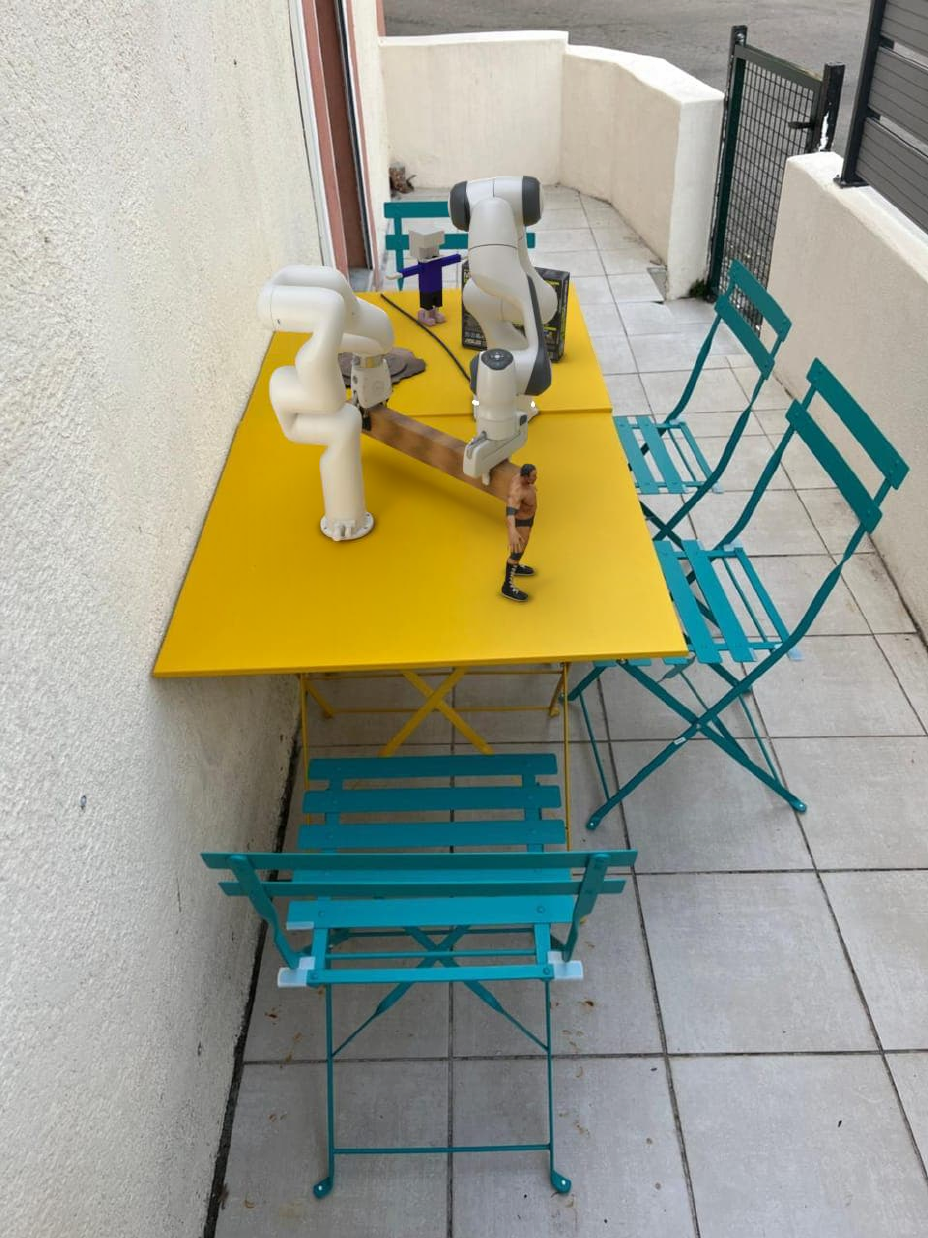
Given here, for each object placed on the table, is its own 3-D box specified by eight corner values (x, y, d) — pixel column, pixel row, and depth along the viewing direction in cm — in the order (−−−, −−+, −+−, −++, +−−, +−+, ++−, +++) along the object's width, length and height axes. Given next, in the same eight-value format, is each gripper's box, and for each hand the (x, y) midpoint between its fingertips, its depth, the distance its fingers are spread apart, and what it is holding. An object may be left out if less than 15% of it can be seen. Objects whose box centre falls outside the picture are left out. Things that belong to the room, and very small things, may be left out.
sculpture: (406, 397, 263) (403, 345, 252) (297, 384, 270) (290, 333, 259) (437, 352, 287) (436, 303, 277) (336, 341, 294) (331, 293, 284)
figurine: (524, 621, 184) (530, 498, 165) (494, 617, 185) (497, 494, 166) (540, 553, 202) (547, 435, 183) (512, 550, 203) (516, 432, 184)
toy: (460, 304, 319) (459, 216, 299) (477, 312, 313) (477, 222, 294) (381, 329, 302) (375, 237, 283) (398, 337, 296) (393, 244, 277)
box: (565, 354, 285) (571, 269, 268) (558, 363, 280) (563, 277, 263) (468, 339, 295) (468, 256, 278) (460, 347, 290) (459, 264, 272)
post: (348, 426, 232) (345, 400, 227) (361, 420, 235) (358, 394, 230) (511, 504, 204) (512, 477, 199) (524, 496, 206) (525, 469, 201)
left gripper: (352, 374, 210) (359, 442, 222) (403, 351, 219) (407, 418, 231) (331, 365, 214) (339, 432, 226) (382, 343, 223) (387, 409, 235)
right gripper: (478, 446, 190) (478, 501, 199) (533, 411, 202) (531, 464, 211) (455, 437, 193) (456, 491, 202) (511, 403, 205) (509, 456, 214)
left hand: (373, 424), depth 228 cm, fingers closed on post, 4 cm apart
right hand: (495, 477), depth 206 cm, fingers closed on post, 5 cm apart
